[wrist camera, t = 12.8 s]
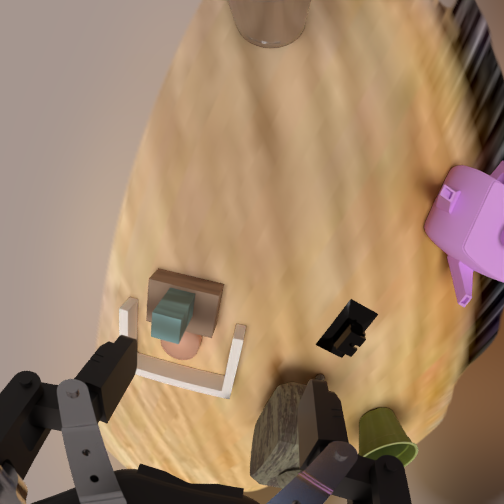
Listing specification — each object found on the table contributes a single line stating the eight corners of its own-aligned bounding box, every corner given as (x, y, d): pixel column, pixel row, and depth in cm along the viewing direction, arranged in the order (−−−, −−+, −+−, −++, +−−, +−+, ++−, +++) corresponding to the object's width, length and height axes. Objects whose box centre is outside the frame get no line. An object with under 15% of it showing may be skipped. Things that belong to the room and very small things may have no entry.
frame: (129, 296, 47) (119, 308, 43) (246, 325, 47) (243, 340, 43) (129, 356, 51) (121, 369, 47) (232, 383, 51) (229, 399, 47)
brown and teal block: (158, 268, 45) (128, 301, 35) (223, 283, 45) (208, 323, 35) (155, 308, 47) (127, 347, 37) (216, 323, 47) (201, 368, 37)
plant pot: (352, 401, 51) (363, 447, 40) (409, 395, 50) (427, 436, 39) (342, 438, 54) (349, 481, 44) (394, 432, 54) (406, 471, 43)
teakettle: (507, 248, 40) (551, 275, 28) (430, 284, 43) (467, 324, 31) (492, 149, 35) (544, 155, 23) (407, 178, 38) (452, 190, 26)
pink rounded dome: (166, 314, 48) (160, 324, 45) (203, 322, 48) (199, 332, 45) (166, 344, 49) (160, 355, 47) (200, 352, 49) (196, 363, 47)
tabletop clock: (298, 421, 53) (300, 535, 30) (253, 410, 53) (240, 528, 29) (333, 369, 49) (357, 498, 25) (284, 355, 48) (284, 492, 25)
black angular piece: (339, 363, 49) (343, 381, 44) (304, 346, 48) (306, 364, 44) (386, 307, 45) (395, 322, 41) (350, 286, 44) (357, 300, 40)
